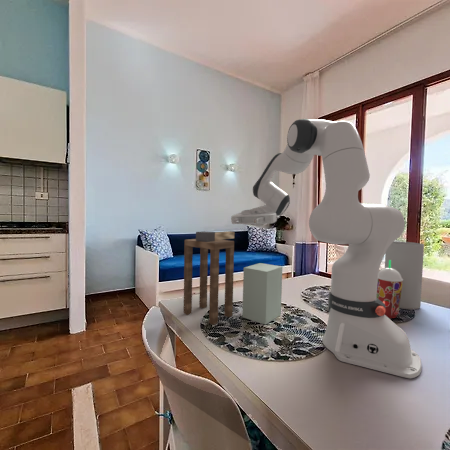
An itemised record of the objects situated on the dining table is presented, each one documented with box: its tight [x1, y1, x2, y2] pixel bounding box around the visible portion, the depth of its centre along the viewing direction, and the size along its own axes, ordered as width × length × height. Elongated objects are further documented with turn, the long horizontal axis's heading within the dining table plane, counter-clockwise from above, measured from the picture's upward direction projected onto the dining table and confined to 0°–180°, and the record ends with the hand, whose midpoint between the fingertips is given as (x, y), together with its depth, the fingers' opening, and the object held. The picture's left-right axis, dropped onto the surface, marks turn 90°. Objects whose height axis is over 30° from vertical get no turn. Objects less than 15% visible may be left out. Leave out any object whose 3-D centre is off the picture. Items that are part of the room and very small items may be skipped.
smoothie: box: [377, 260, 403, 319], centre depth 93 cm, size 8×8×20 cm
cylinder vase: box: [384, 240, 425, 311], centre depth 104 cm, size 12×12×25 cm
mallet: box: [195, 230, 235, 242], centre depth 93 cm, size 17×5×3 cm, turn 142°
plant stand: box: [183, 238, 235, 326], centre depth 90 cm, size 14×10×26 cm
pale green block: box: [242, 262, 283, 326], centre depth 90 cm, size 9×11×17 cm
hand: (245, 221), depth 106 cm, fingers open, 8 cm apart
